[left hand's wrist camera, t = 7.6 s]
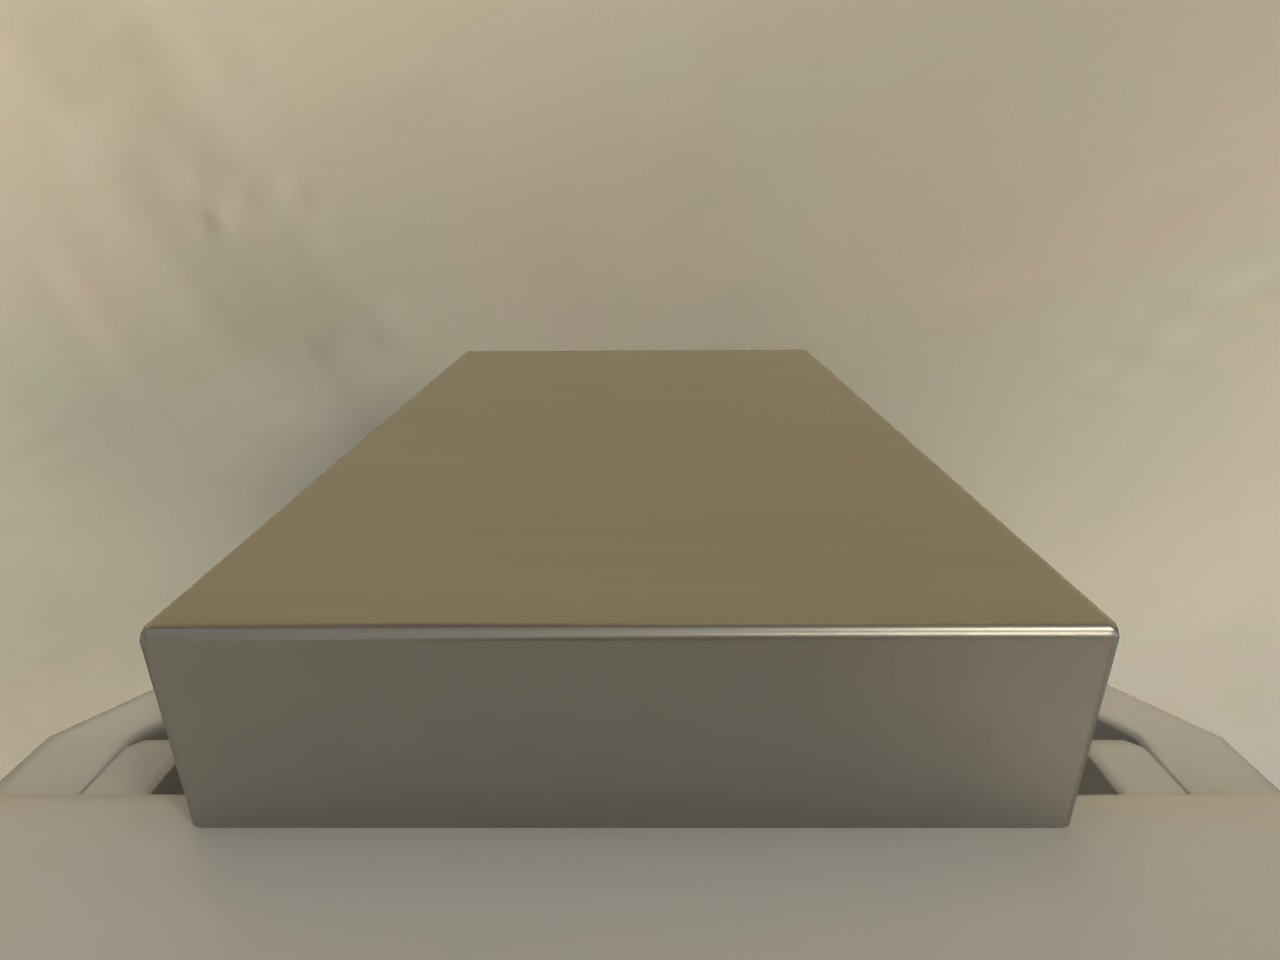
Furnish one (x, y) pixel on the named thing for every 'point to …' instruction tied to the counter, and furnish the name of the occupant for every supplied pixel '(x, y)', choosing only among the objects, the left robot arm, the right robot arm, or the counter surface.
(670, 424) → the box
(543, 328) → the counter surface
